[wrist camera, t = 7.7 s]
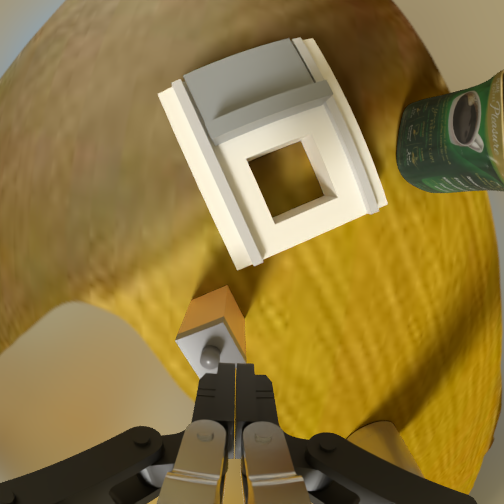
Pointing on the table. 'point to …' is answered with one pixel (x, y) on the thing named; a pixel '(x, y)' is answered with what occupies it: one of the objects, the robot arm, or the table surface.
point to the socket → (268, 140)
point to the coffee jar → (455, 140)
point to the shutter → (254, 90)
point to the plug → (213, 332)
